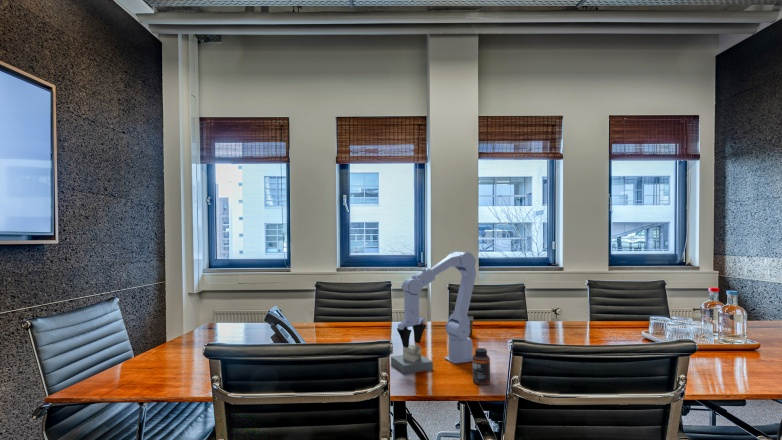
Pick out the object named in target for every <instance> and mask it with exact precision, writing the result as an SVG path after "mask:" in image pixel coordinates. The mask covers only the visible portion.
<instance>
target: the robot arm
mask: <svg viewBox="0 0 782 440" xmlns="http://www.w3.org/2000/svg"><path fill="white" fill-rule="evenodd" d="M476 262H477V259H476V258H475V256H474V255H473V253H471V252H469V251H468V252H464V251H458V250H455V251H453V252H451V253H449V254H448V255H447V256H446V257H444V258H443V259H441V260H440V261H439V262H438V263H436V264H434V266H432V267H431V268H429V267H422V268H421V271H419V272H417V273H416V274H412V277H408V278H406V279H404V280H403V283H402V285H401V289H402V291H403V293H404V294H403V295H404V300H403V301H404V304H403V305H404V308H403V309H404V310H403V311H404V317H403V318H404V319H403V321H402V322H399V323H398V324H397V328H396V331H397V333H398V334H399V336H400V340H401V343H402V348H403V347H406V348H408V346H409V344H410V336H411V333H412V331H413V337H414V338H413V339H414V343H415V344H421V341H422V337H423V333H424V331H425V329H426V324H425V323H426V322H425V318H423V317H420V294H421V292H422V290H423V288H425V287H426V286H428V285H429V284H430V283H432V282H433V281H435V279H436V276H437V275H440V274H441V273H442V272H444V271H446V270H448V269H449V268H453V267H454V268H455V269H456V270H458V272H459V273H460V275H461V278H460V282H459V283H460V284H459V288H458V291H457V297H456V301H455V306H454V311H453V312H452V313H451V314H450V315H449V317H448V320H447V322H446V323H445V332H446V333H447V336H448V356H444V360H447V361H449V362H450V363H453V364H454V365H456V364H461V363H462V364H463V363H468V362H469V363H470V362H473V356H474V344H473V341H472V339H471V338H470V336H469V334H470V327H469V326H470V321H469V319H468V317H467V315H468V312H469V308H470V303H471V300H472V295H473V290H474V285H475V281H476V276H477V269H476ZM409 328H412V329H409Z"/></svg>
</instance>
